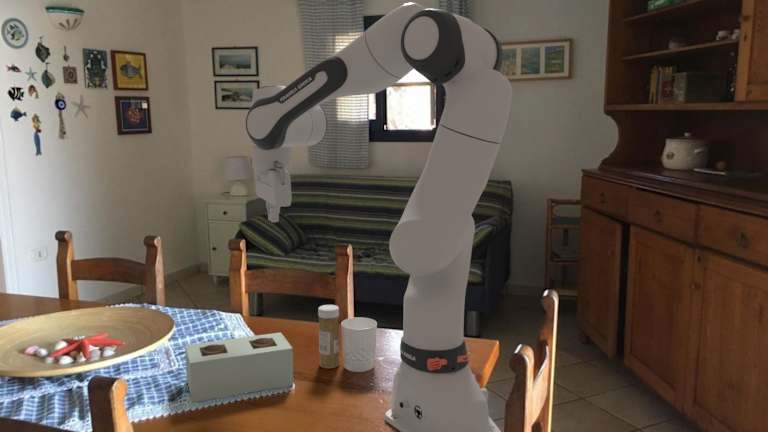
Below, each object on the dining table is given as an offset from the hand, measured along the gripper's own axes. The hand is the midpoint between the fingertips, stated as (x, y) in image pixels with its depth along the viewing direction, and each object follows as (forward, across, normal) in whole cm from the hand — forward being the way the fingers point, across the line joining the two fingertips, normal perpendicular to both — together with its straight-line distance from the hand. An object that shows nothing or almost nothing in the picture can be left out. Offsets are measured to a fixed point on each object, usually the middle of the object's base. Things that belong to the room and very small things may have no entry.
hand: (273, 221), depth 137 cm
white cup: (+31, -15, -15) cm, 38 cm away
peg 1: (+31, -14, +16) cm, 37 cm away
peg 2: (+31, -14, +6) cm, 34 cm away
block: (+31, -14, +11) cm, 36 cm away
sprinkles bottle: (+31, -12, -9) cm, 35 cm away
